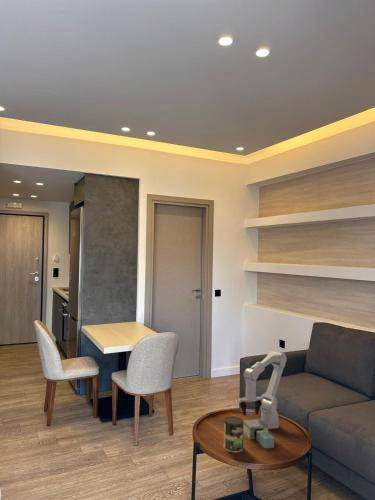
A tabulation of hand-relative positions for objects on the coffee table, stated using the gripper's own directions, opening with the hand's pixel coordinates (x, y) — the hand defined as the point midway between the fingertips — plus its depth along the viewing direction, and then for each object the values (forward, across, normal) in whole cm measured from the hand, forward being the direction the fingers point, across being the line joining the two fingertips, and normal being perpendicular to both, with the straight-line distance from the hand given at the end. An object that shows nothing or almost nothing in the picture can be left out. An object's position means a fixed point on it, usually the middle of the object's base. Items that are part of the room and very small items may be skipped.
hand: (250, 414), depth 209 cm
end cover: (+10, -2, +14) cm, 17 cm away
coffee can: (+11, +16, +14) cm, 24 cm away
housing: (+10, -2, +2) cm, 11 cm away
